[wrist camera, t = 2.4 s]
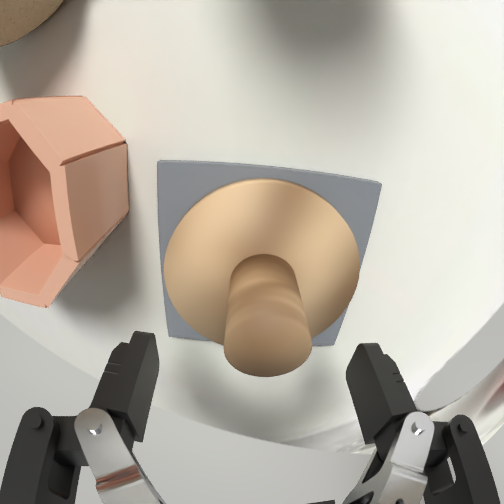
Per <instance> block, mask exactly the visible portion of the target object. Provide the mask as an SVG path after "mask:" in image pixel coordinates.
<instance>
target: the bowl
mask: <svg viewBox="0 0 504 504" xmlns="http://www.w3.org/2000/svg"><path fill="white" fill-rule="evenodd" d="M124 141H125V139H124V138H123V137H122V135H121V134H120V133H119V132H118V131H117V130H116V129H115V128H114V127H113V126H112V125H111V124H110V123H109V122H108V121H107V119H106V118H105V117H104V116H103V115H102V114H101V113H100V112H99V111H98V110H97V109H96V108H95V107H94V105H93V104H92V103H91V102H90V101H89V100H88V99H87V98H86V97H83V96H51V97H34V98H23V99H13V100H9V101H7V102H4V103H1V104H0V294H1V296H2V297H4V298H8V299H12V300H15V301H19V302H23V303H27V304H31V305H34V306H39V307H43V308H47V307H49V306H50V305H51V304H52V302H53V301H54V300H55V298H56V297H57V296H58V295H59V293H60V292H61V291H62V290H63V289H64V287H65V286H66V285H67V284H68V282H69V281H70V280H71V279H72V278H73V277H74V275H75V274H76V273H77V272H78V271H79V270H80V268H81V267H82V266H83V265H84V264H85V263H86V262H87V260H88V259H89V258H90V257H91V256H92V255H93V254H94V253H95V252H96V250H97V249H98V248H99V247H100V245H101V244H102V243H103V242H104V241H105V239H106V238H107V237H108V236H109V235H110V234H111V232H112V231H113V230H114V229H115V228H116V227H117V225H118V224H119V223H120V222H121V221H122V220H123V219H124V217H125V216H126V215H127V214H128V213H127V212H128V211H129V200H128V178H127V144H122V143H123V142H124Z"/></svg>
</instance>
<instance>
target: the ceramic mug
mask: <svg viewBox="0 0 504 504" xmlns="http://www.w3.org/2000/svg"><path fill="white" fill-rule="evenodd" d="M63 1H64V0H0V47H1V46H4V45H6V44H9V43H11V42H14V41H16V40H18V39H20V38H22V37H23V36H25V35H26V34H28V33H30V32H31V31H33V30H34V29H36V28H37V27H38V26H39V25H40V24H42V23H43V22H44V21H45V20H47V19H48V18H49V17H50V16H51V15H52V14H53V13H54V12H55V11H56V10H57V9H58V7H59V6H60V5H61V4H62V2H63Z"/></svg>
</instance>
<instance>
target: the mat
mask: <svg viewBox="0 0 504 504" xmlns="http://www.w3.org/2000/svg"><path fill="white" fill-rule="evenodd" d="M252 178H275V179H281V180H287V181H291V182H294V183H297V184H300V185H302V186H305V187H307V188H309V189H311V190H313V191H314V192H316V193H317V194H319V195H320V196H322V197H323V198H325V199H326V200H327V201H328V202H329V203H330V204H331V205H332V206H333V207H334V208H335V209H336V210H337V212H338V213H339V214H340V215H341V217H342V218H343V219H344V220H345V222H346V223H347V224H348V226H349V228H350V230H351V231H352V233H353V235H354V238H355V241H356V243H357V247H358V252H359V258H360V268H361V265H362V261H363V258H364V254H365V251H366V247H367V244H368V240H369V236H370V233H371V229H372V225H373V221H374V217H375V213H376V209H377V204H378V200H379V196H380V191H381V186H382V184H381V183H379V182H377V181H372V180H367V179H361V178H355V177H349V176H343V175H336V174H330V173H323V172H316V171H308V170H300V169H292V168H283V167H274V166H263V165H252V164H240V163H225V162H207V161H181V160H160V161H158V162H157V197H158V226H159V245H160V259H161V272H162V283H163V293H164V303H165V312H166V320H167V328H168V335H169V337H178V338H186V339H196V340H207V341H212V340H210V339H208V338H206V337H204V336H203V335H201V334H200V333H198V332H197V331H195V330H194V329H193V328H192V327H191V326H190V325H189V324H187V323H186V322H185V320H184V319H183V318H182V317H181V316H180V315H179V313H178V312H177V310H176V309H175V307H174V306H173V304H172V302H171V300H170V298H169V295H168V292H167V289H166V285H165V279H164V260H165V253H166V250H167V247H168V244H169V241H170V239H171V237H172V235H173V233H174V231H175V229H176V227H177V226H178V224H179V222H180V221H181V219H182V218H183V216H184V215H185V214H186V212H187V211H188V210H189V209H190V208H191V207H192V206H193V205H194V204H195V203H196V202H197V201H199V200H200V199H201V198H202V197H204V196H205V195H206V194H208V193H210V192H212V191H213V190H215V189H217V188H219V187H221V186H224V185H227V184H229V183H232V182H236V181H240V180H244V179H252ZM348 305H349V304H348ZM347 308H348V306H347ZM347 308H346V309H345V310H344V312H343V313H342V314H341V316H340V317H339V318H338V319H337V320H336V321H335V322H334V323H333V324H332V325H331V326H329V327H328V328H327V329H326V330H325V331H323V332H322V333H320V334H319V335H317V336H315V337H313V338H312V339H311V340H312V345H334V343H335V341H336V338H337V336H338V333H339V330H340V328H341V325H342V322H343V319H344V317H345V314H346V311H347Z"/></svg>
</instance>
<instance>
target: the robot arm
mask: <svg viewBox="0 0 504 504" xmlns="http://www.w3.org/2000/svg"><path fill="white" fill-rule="evenodd" d="M158 372H159V356H158V350H157V345H156V339H155V335H154V333H147V332H140V331H135V332H134V333H133V335H132V338H131V340H130V343H124V342H121V343H120V344H119V345H118V346H117V347H116V348H115V349H114V350H113V351H112V353H111V355H110V358H109V360H108V364H107V365H106V367H105V370H104V372H103V375H102V377H101V380H100V382H99V385H98V388H97V390H96V393H95V396H94V398H93V401H92V403H91V405H90V407H89V408H88V409H85V410H84V411H82V412H81V413H79V414H78V415H77V416H52V415H51V414H50V413H49V412H48V411H47V410H46V409H44V408H40V407H34V408H31V409H29V410H28V411H26V412H25V413H24V415H23V417H22V419H21V422H20V425H19V427H18V430H17V433H16V436H15V439H14V442H13V445H12V448H11V452H10V455H9V458H8V462H7V466H6V469H5V473H4V477H3V481H2V485H1V490H0V504H75V498H76V492H77V485H78V480H79V475H80V470H81V466H90V468H91V470H92V472H93V475H94V477H95V479H96V482H97V483H96V489H97V492H98V494H99V496H100V498H101V500H102V501H103V503H104V504H166V503H165V502H164V500H163V499H162V498H161V496H160V495H159V493H158V492H157V491H156V489H155V488H154V486H153V485H152V483H151V482H150V480H149V479H148V477H147V476H146V474H145V473H144V471H143V469H142V468H141V466H140V464H139V462H138V461H137V459H136V457H135V455H134V454H133V452H132V448H133V443H134V441H138V442H143V438H144V433H145V428H146V423H147V419H148V415H149V410H150V406H151V401H152V397H153V393H154V389H155V385H156V381H157V377H158ZM346 381H347V384H348V387H349V390H350V394H351V397H352V400H353V404H354V407H355V410H356V414H357V417H358V420H359V424H360V427H361V431H362V434H363V438H364V441H365V445H366V444H372V443H375V444H376V448H375V449H374V451H373V453H372V456H371V458H370V460H369V462H368V464H367V466H366V468H365V470H364V472H363V474H362V476H361V478H360V480H359V482H358V483H357V485H356V487H355V488H354V489H353V490H352V491H351V492H350V494H349V495H348V496H347V497H346V499H345V500H344V502H343V504H420V501H421V498H422V496H424V500H425V504H500V500H499V497H498V493H497V489H496V486H495V482H494V479H493V476H492V472H491V469H490V467H489V463H488V461H487V458H486V455H485V452H484V450H483V447H482V444H481V441H480V439H479V436H478V434H477V431H476V429H475V426H474V424H473V422H472V421H471V419H470V418H468V417H467V416H465V415H457V416H455V417H454V418H453V419H452V420H451V421H450V422H435V421H432V420H431V418H430V417H429V416H428V415H426V414H424V413H422V412H418V411H417V409H416V407H415V404H414V402H413V400H412V397H411V395H410V393H409V391H408V389H407V386H406V384H405V382H403V381H404V380H403V378H402V376H401V374H400V371H399V369H398V367H397V365H396V363H395V362H394V361H393V360H392V359H391V358H390V357H389V356H388V355H387V354H383V352H382V350H381V348H380V346H379V344H378V343H362V344H359V345H358V346H357V348H356V350H355V352H354V354H353V357H352V359H351V361H350V363H349V365H348V367H347V370H346ZM449 457H450V458H451V461H452V465H453V468H454V471H455V475H456V481H455V484H454V482H453V478H452V475H451V471H450V468H449V465H448V461H447V459H448V458H449ZM310 504H335V501H334V500H330V501H323V502H317V503H310Z"/></svg>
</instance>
